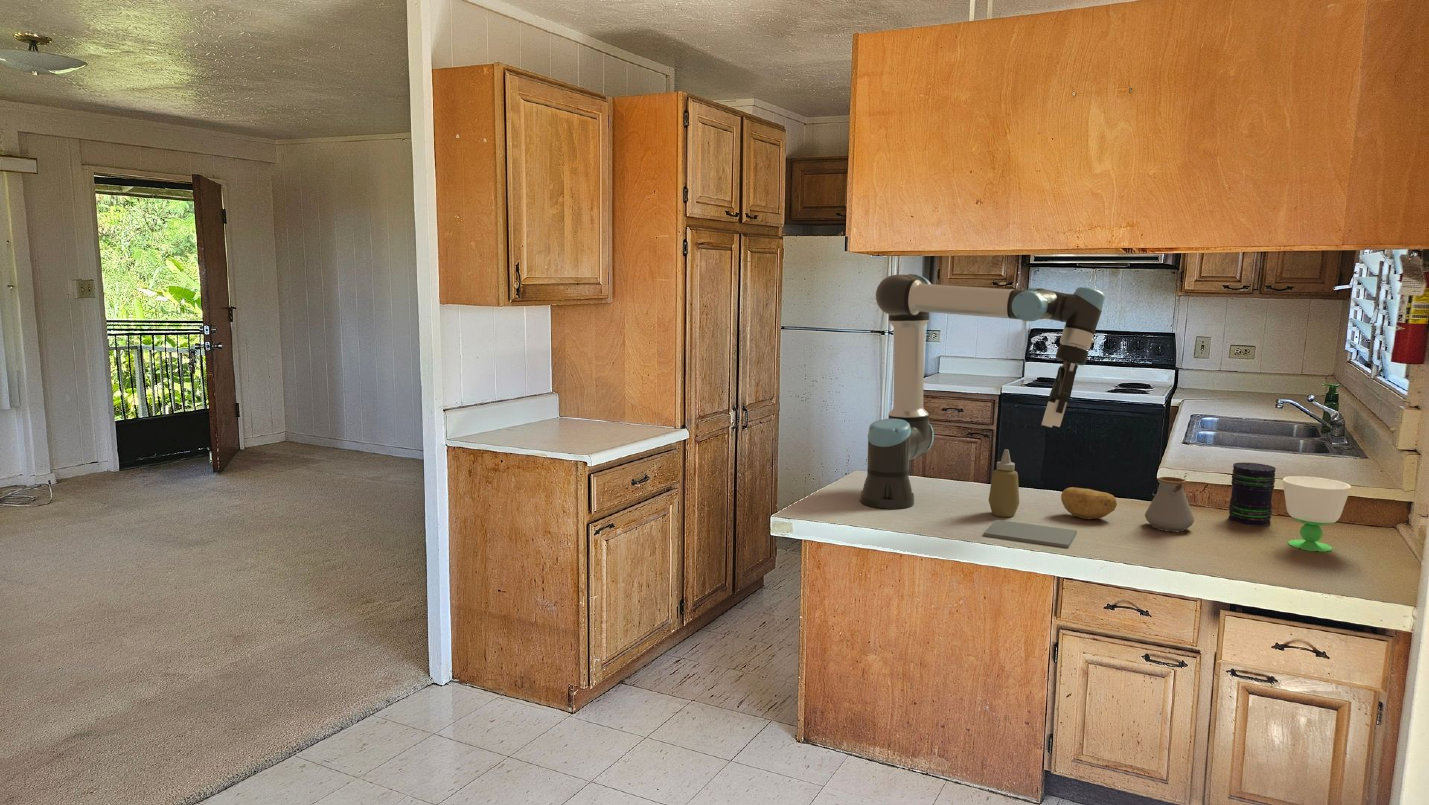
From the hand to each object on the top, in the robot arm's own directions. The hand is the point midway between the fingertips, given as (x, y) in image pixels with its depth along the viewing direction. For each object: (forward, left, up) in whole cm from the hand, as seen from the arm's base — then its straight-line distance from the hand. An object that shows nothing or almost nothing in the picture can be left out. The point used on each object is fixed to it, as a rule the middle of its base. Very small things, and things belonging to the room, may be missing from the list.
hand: (1050, 426), depth 232 cm
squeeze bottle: (-11, -3, -26) cm, 28 cm away
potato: (+4, +13, -26) cm, 30 cm away
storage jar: (+30, +46, -26) cm, 61 cm away
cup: (+49, +35, -26) cm, 66 cm away
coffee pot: (+24, +18, -26) cm, 40 cm away
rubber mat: (+5, -13, -26) cm, 29 cm away
